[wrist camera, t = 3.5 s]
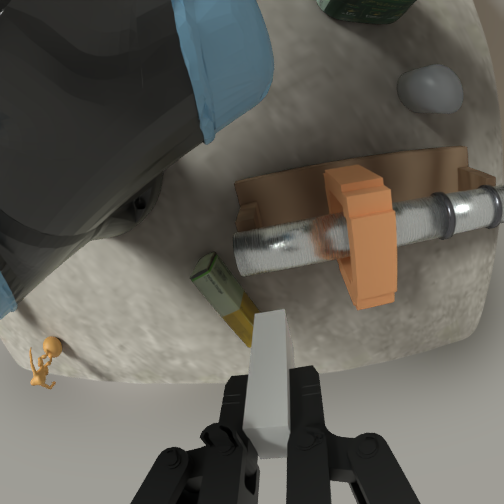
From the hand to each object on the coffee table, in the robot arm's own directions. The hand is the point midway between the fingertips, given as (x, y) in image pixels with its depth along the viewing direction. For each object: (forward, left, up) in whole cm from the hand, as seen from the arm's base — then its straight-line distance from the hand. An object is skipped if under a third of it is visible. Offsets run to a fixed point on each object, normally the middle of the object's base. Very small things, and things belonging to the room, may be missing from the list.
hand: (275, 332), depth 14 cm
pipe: (+10, 0, -12) cm, 16 cm away
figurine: (-43, -14, -19) cm, 48 cm away
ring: (+7, 0, -15) cm, 16 cm away
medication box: (-7, -9, -19) cm, 22 cm away
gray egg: (+18, +11, -18) cm, 28 cm away
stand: (+10, 0, -18) cm, 21 cm away
